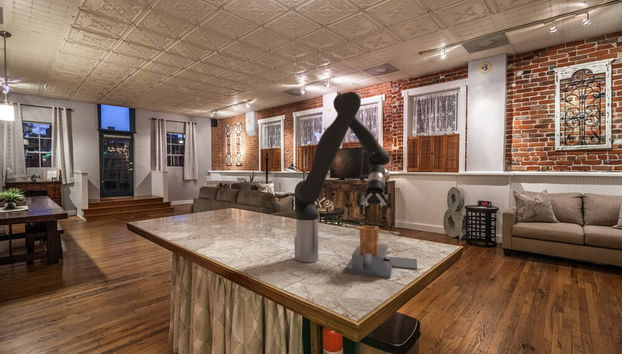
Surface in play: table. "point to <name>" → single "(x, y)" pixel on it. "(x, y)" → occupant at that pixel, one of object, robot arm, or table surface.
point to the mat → (403, 262)
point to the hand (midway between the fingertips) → (372, 214)
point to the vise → (370, 264)
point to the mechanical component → (385, 246)
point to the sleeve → (369, 239)
